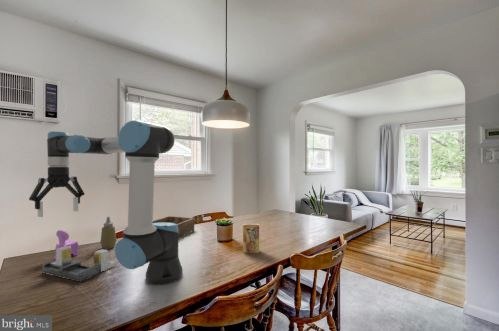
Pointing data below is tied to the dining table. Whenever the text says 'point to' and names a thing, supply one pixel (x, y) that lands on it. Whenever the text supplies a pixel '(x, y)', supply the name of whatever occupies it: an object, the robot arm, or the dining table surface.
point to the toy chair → (62, 238)
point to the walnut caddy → (179, 224)
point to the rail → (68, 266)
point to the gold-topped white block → (102, 260)
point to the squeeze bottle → (108, 235)
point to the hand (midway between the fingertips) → (59, 213)
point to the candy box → (250, 238)
